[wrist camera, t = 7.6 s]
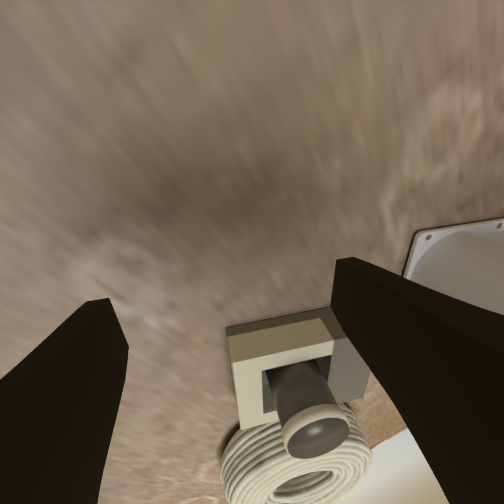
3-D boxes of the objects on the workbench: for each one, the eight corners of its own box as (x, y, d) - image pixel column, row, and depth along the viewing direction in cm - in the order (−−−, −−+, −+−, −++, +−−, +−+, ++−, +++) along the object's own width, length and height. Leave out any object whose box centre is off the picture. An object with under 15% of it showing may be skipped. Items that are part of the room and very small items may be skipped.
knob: (311, 366, 25) (349, 447, 19) (263, 379, 24) (288, 467, 18) (310, 331, 23) (354, 411, 17) (257, 344, 22) (283, 432, 16)
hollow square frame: (357, 301, 24) (381, 329, 21) (344, 366, 28) (363, 397, 25) (225, 327, 22) (232, 363, 19) (234, 393, 26) (240, 430, 23)
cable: (257, 484, 38) (268, 543, 33) (187, 442, 29) (187, 515, 24) (363, 428, 37) (392, 480, 32) (326, 367, 28) (358, 426, 23)
